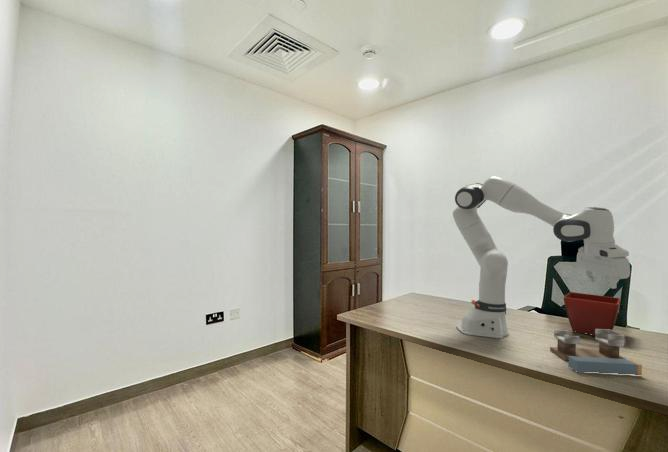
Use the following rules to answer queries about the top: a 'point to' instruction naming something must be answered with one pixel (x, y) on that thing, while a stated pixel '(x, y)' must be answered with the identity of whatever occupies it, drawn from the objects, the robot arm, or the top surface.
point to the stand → (607, 349)
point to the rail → (605, 365)
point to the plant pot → (591, 312)
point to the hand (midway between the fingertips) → (601, 284)
